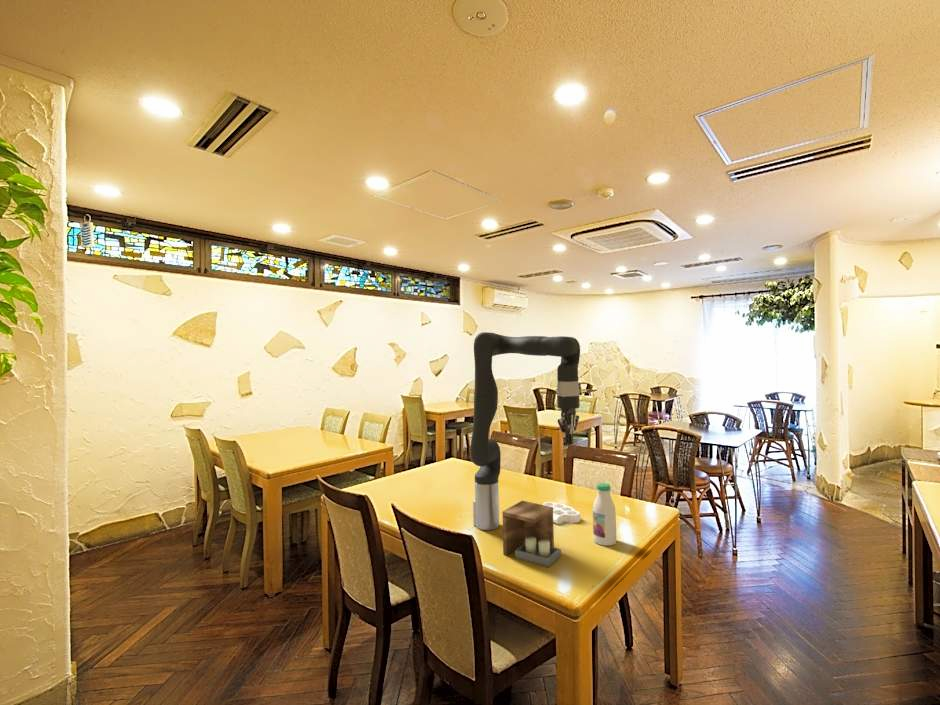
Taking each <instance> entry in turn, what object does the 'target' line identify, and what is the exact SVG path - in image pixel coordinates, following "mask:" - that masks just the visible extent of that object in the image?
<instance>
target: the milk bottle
mask: <svg viewBox="0 0 940 705" xmlns="http://www.w3.org/2000/svg"><path fill="white" fill-rule="evenodd" d="M596 491H597V494H596V497H595V499H594V502H593V506H592V531H593V532H592V536H593V541H594V543H596V544H598V545H600V546H604V547H611V546H614V545H616V543H617V517H616V516H617V515H616V512H617V511H616V506H615V503H614V502H613V499H612V496H611V484H609V483H606V482H605V483H604V482H598V483H597V484H596Z"/></svg>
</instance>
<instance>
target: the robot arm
mask: <svg viewBox="0 0 940 705" xmlns="http://www.w3.org/2000/svg"><path fill="white" fill-rule="evenodd" d="M506 354H507V355H508V354H520V355H526V356H536V357H537V356H538V357H539V356H540V357H542V356H543V357H545V356H546V357H547V356H550V357H559V358H560V364H559V365H558V366H557V370H556V373H557V374H556V375H557V376H556V377H557V384H556V400H557V401H556V404H557V406H556V407H557V408H558V409H561V410H560V418H559V419H557V424H558V425H559V429H560V431H561V433H563V434H565V437H564V439H565V440H564V441H565V442H564V443H565V445H566V446H572V445H573V444H574V433H575V432H576V431H577V427H578V423H579V420H580V416H579V415H577V412H576V411H577V410H576V409H579V408H580V404H581V403H580V402H581V401H580V384H579V370H578V368H579V363H580V357H581V356H580V355H581V346H580V342H579V341H578V339H577V338H575V337H573V336H543V335H542V336H541V335H528V336H509V335H508V336H507V335H503V334H498V333H496V332H489V331H488V332H487V331H485V332H484V331H482V332H479V333H478V334H477V335H476V336H475V338H474V341H473V357H474V391H473V421H472V432H471V440H470V447H469V448H470V450H469V455H470V460H471V461H472V463H473V464H474V465H475V466H477V467H479V469H477V471H476V473H475V474H474V500H473V501H472V511H473V513H472V516H473V526H475V527H476V528H477V529H479V530H483V531H492V530H493V531H494V530H496V529H498V528H499V527H500V501H499V500H500V495H499V493H500V492H499V489H500V488H499V477H500V473H501V459H502V458H501V448H500V445H499V443H498V442H497V441H496V440H494V439H492V438H489V434H490V430H491V429H490V428H491V425H492V422H493V420H494V418H495V416H496V413H497V409H498V405H499V404H498V403H499V391H498V390H499V389H498V385H497V383H496V379H495V376H494V374H493V357H496V356H499V355H506Z"/></svg>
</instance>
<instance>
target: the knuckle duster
mask: <svg viewBox="0 0 940 705" xmlns="http://www.w3.org/2000/svg"><path fill="white" fill-rule="evenodd" d="M542 505H545V506H550V507H553V524H556V525H561V524H564V523H569V524H570V523H571V524H576V523H580V521H581V513H580V511H578V510H575V508H573V507H572V506H568V505H566V504H564V503H557V502H553V501H545V502H543V504H542Z"/></svg>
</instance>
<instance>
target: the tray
mask: <svg viewBox="0 0 940 705" xmlns="http://www.w3.org/2000/svg"><path fill="white" fill-rule="evenodd" d="M561 552H562V549H561V548H560V547H559V548H558V547H556V546H554V547H552V546H550V556H549V557H548V558H545V557H541V556H539V545H538V543H537V542H536V555H535V554H531V553H528V552H525V543H523V544H522V545H520V546H519V547H518V548H516V549H515V550H514V556H515V557H514V558H515V559H518V560H522V561H526V562H528V563H532V564H535V565H539V566H540V567H541V566H542V567H544V568H548V569H549V568H551V567H552V565H554V564H555V563H556V562H557V561H558V560H559V559H560V558H561V557H562V556H561V555H562V553H561Z"/></svg>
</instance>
